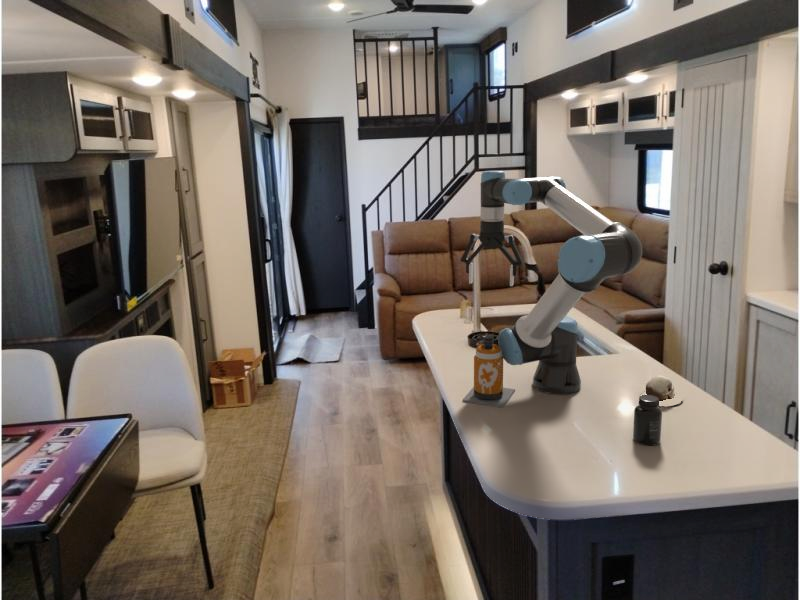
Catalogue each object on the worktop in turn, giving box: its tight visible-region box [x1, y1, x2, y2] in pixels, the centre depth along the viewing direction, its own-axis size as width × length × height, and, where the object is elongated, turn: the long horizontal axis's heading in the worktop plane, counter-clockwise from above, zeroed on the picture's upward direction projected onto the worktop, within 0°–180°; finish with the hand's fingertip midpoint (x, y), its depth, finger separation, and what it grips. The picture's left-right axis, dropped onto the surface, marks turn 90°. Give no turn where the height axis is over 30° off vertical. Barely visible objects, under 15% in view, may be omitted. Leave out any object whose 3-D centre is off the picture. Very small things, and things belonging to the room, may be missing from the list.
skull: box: [645, 375, 676, 401], centre depth 192 cm, size 12×10×10 cm
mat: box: [462, 386, 516, 408], centre depth 198 cm, size 13×14×1 cm
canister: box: [473, 333, 504, 400], centre depth 195 cm, size 9×11×20 cm
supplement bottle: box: [632, 395, 663, 446], centre depth 165 cm, size 7×7×12 cm
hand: (491, 284), depth 208 cm, fingers open, 13 cm apart
